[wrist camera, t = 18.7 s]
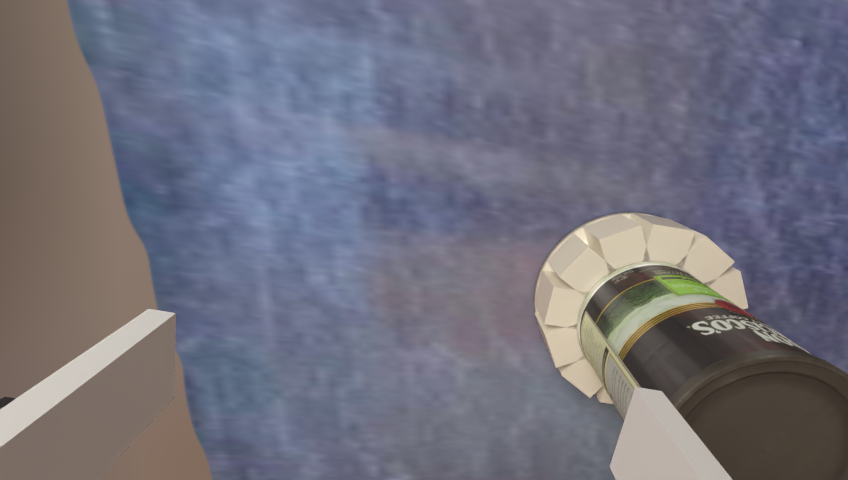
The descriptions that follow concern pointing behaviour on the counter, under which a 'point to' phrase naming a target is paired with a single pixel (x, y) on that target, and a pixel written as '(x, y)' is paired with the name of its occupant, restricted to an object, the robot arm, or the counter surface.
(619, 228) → the cream cog ring
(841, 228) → the counter surface
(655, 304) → the coffee can
